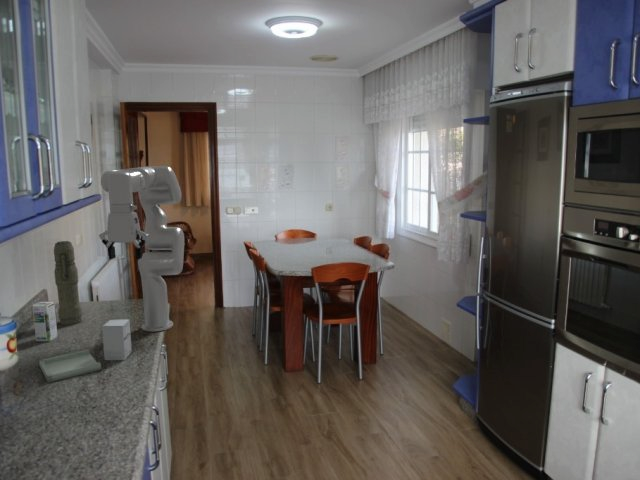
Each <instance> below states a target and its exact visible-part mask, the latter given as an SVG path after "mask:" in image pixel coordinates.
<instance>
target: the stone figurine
mask: <svg viewBox="0 0 640 480" xmlns="http://www.w3.org/2000/svg"><path fill="white" fill-rule="evenodd" d="M53 247H54V248H53V255H54V256H53V257H54V262H55V264H54V273H53V274H54V281H55V282H54V283H55V285H56V289H57V297H58V298H57V299H58V312H57V313H58V319H59V324H60V325H61V326H65V325H66V326H74V325H77V324H81V323H82V322H83V319H82V316H83V314H82V307H81V305H80V296H79V286H78V283H79V275H78V274H79V273H78V268H77V266H76V262H75V259H76V258H75V250H74V246H73V244H72V242H71V241H69V240H64V241H57V242H55V244H54V246H53ZM81 321H82V322H81Z"/></svg>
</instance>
